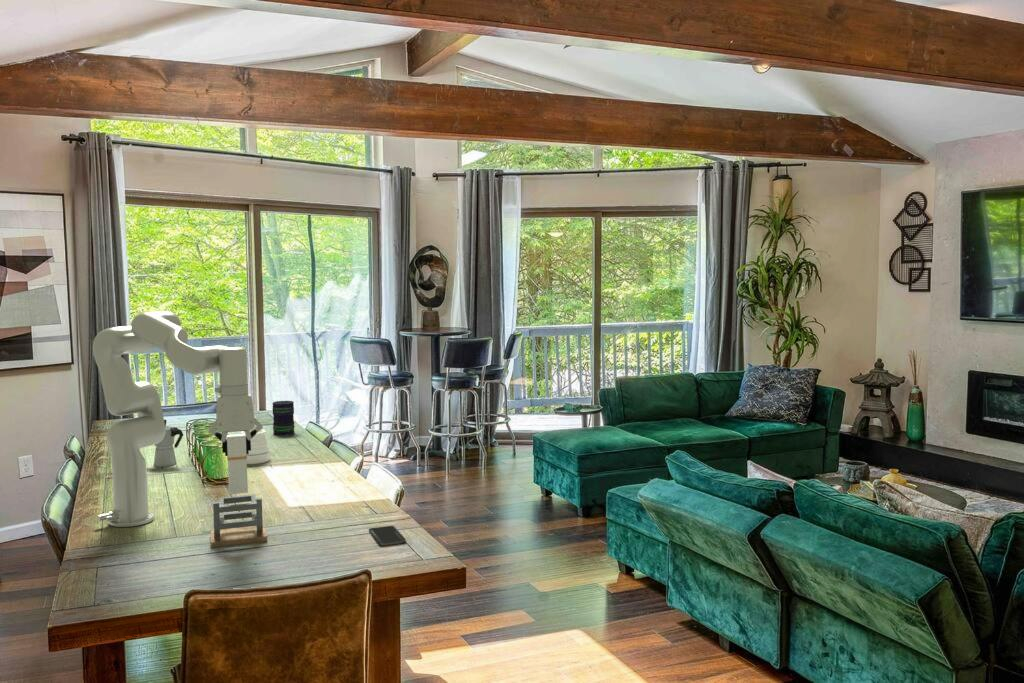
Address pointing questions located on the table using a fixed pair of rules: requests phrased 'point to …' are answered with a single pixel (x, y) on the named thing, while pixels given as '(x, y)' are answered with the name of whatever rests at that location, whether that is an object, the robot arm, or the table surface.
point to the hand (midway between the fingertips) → (236, 453)
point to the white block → (237, 463)
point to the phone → (387, 536)
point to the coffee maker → (167, 447)
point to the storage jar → (283, 418)
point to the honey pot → (258, 448)
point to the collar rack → (238, 522)
